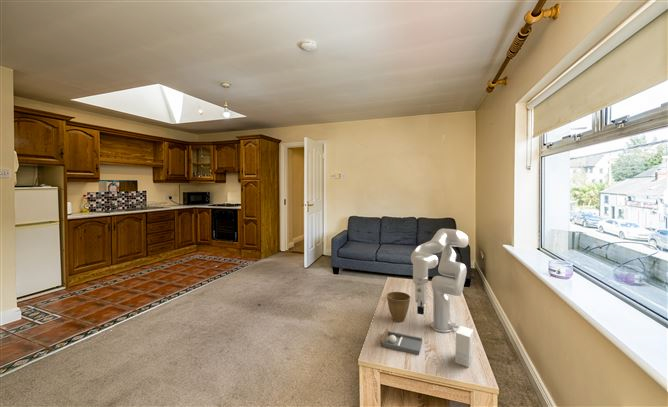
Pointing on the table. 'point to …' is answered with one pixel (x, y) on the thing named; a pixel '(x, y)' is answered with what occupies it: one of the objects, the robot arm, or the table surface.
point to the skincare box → (464, 346)
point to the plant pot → (398, 305)
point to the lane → (402, 342)
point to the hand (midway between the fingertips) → (420, 313)
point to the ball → (392, 339)
